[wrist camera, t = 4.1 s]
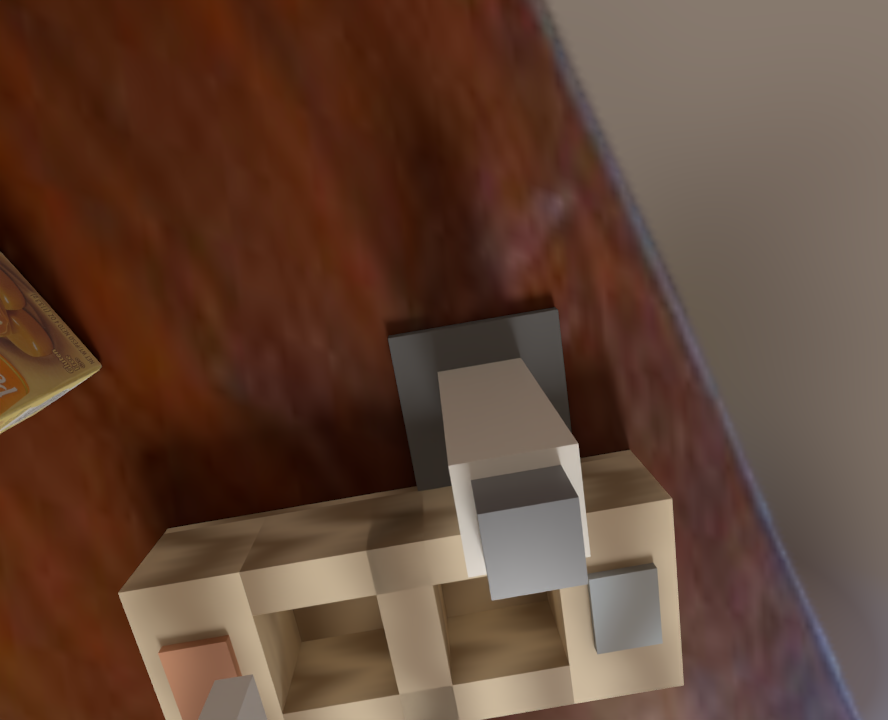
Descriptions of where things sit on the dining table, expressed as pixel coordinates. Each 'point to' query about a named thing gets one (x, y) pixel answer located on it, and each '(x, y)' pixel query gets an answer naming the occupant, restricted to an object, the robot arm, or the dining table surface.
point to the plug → (514, 480)
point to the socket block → (407, 609)
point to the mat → (467, 347)
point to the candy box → (34, 351)
